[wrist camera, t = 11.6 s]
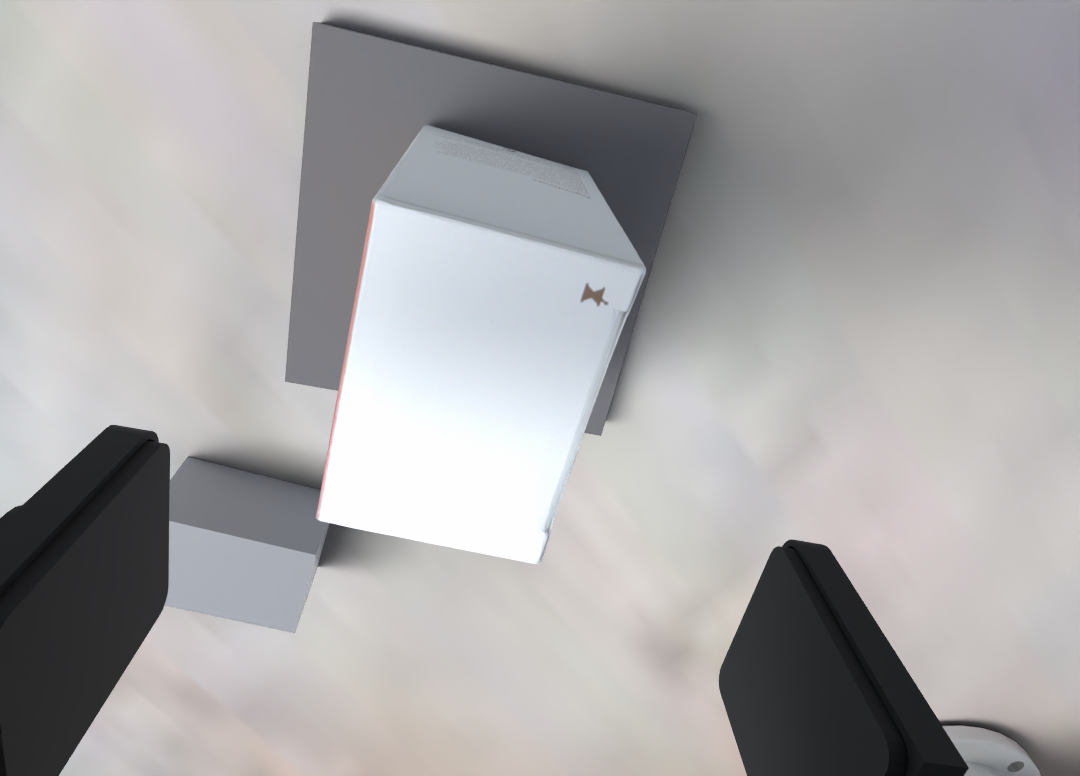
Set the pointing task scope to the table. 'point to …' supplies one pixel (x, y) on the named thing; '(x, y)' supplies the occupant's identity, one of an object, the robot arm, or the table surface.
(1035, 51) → the table surface
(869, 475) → the table surface
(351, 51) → the charcoal mat
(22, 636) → the robot arm
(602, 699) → the table surface
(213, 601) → the light grey rectangular block
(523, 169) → the small box
